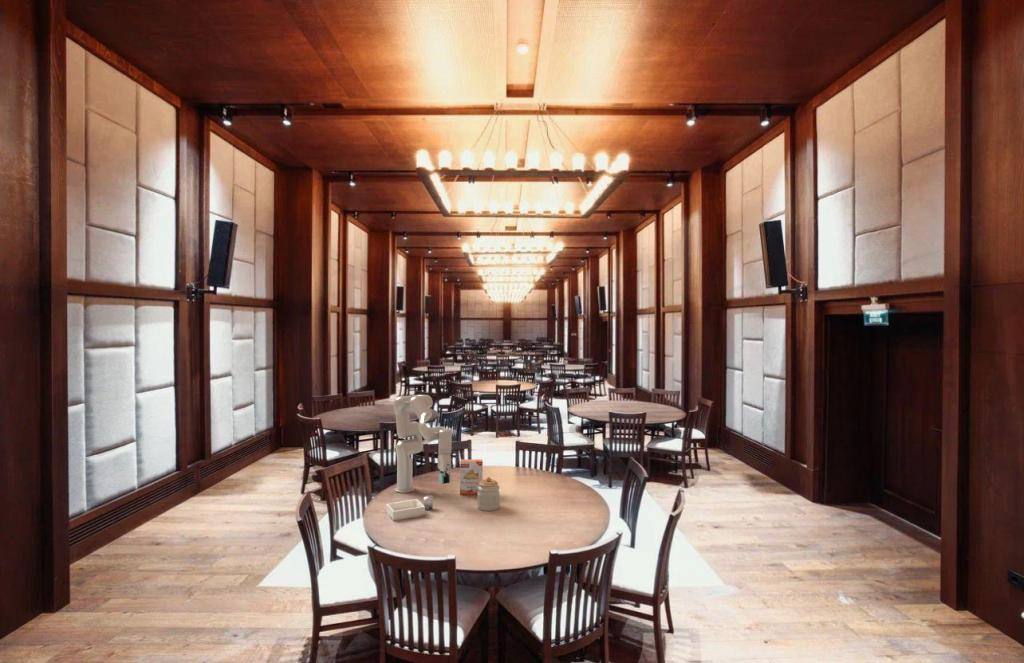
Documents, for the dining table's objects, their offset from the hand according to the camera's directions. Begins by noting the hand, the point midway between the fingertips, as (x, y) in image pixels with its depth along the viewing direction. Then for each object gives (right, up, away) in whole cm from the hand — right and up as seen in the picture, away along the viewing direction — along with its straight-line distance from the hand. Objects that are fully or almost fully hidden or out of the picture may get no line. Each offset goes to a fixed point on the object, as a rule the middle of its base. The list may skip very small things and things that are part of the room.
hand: (444, 481), depth 310 cm
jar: (+26, -15, -1) cm, 30 cm away
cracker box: (+14, -14, +23) cm, 31 cm away
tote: (-20, -15, -13) cm, 28 cm away
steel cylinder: (-9, -15, -5) cm, 18 cm away
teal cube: (0, -1, 0) cm, 1 cm away
